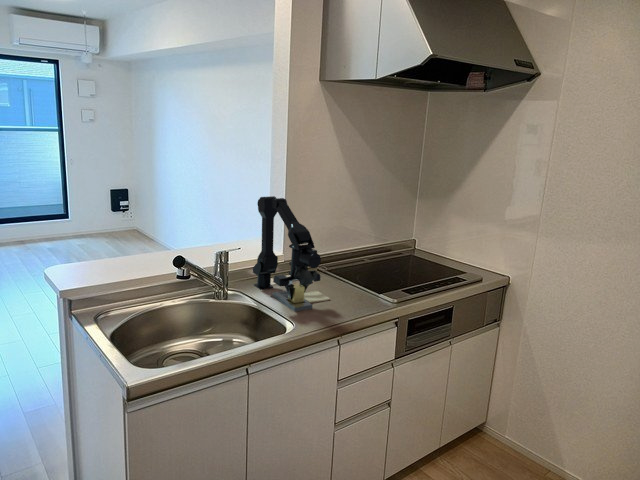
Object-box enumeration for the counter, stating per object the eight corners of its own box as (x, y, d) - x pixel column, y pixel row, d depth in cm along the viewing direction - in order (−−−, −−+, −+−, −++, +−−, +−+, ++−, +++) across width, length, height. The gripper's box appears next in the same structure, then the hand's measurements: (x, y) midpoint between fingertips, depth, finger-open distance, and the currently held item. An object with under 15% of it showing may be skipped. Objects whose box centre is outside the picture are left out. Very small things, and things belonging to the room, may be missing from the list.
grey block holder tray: (272, 296, 203) (272, 292, 203) (289, 293, 208) (289, 289, 207) (294, 311, 189) (294, 307, 189) (312, 308, 193) (312, 304, 193)
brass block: (287, 303, 196) (289, 284, 195) (297, 301, 199) (298, 283, 197) (293, 307, 193) (294, 288, 191) (303, 305, 195) (304, 286, 193)
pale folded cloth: (296, 295, 206) (297, 293, 206) (316, 291, 212) (316, 290, 212) (309, 303, 198) (309, 302, 198) (329, 299, 204) (330, 298, 204)
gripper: (288, 269, 180) (285, 309, 184) (329, 264, 190) (326, 302, 194) (273, 261, 189) (271, 299, 193) (314, 256, 199) (311, 292, 203)
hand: (296, 298), depth 195 cm, fingers closed on brass block, 4 cm apart
